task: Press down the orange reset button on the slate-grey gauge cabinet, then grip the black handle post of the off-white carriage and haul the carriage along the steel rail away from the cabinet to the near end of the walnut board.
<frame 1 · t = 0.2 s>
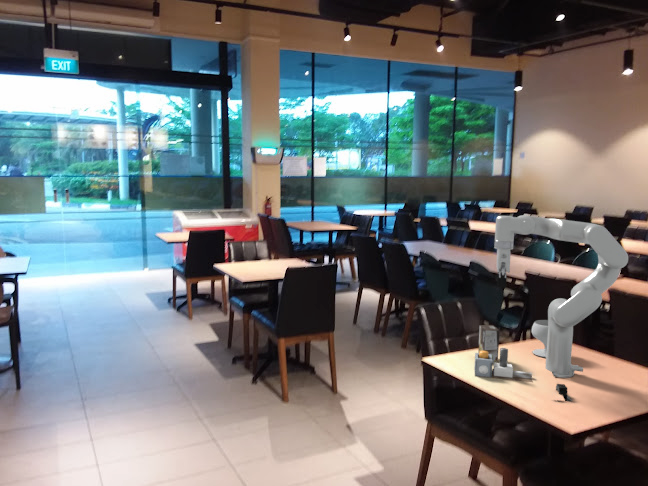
hand: (501, 285, 220), 36 cm above the table, tool pointing down, fingers open, 9 cm apart
carriage: (503, 361, 210), point 7 cm above the table, slide at 0.0 cm
rail board: (502, 378, 211), on the table
gauge cabinet: (482, 376, 213), resting on rail board
coffee box: (487, 363, 230), on the table
reset button: (483, 355, 212), point 9 cm above the table, slide at 0.0 cm
black slotted bracket: (561, 398, 195), on the table
chalice: (546, 354, 242), on the table
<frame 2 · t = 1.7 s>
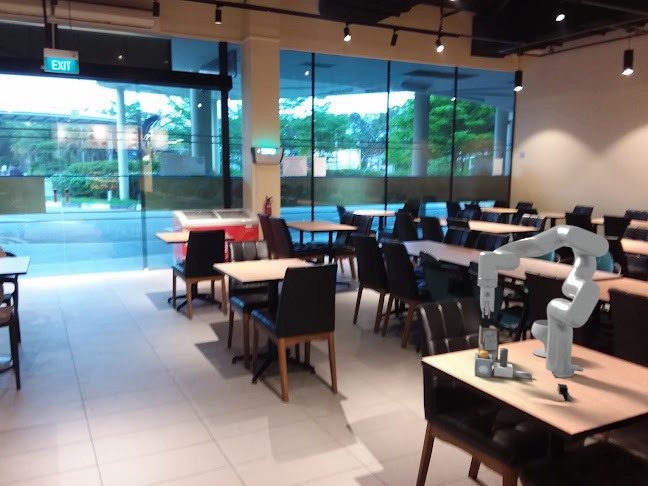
hand: (485, 326, 211), 21 cm above the table, tool pointing down, fingers closed
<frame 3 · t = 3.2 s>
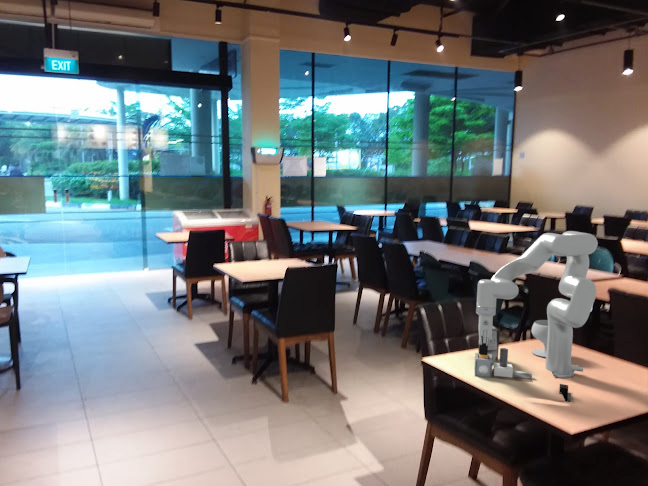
hand: (483, 353, 212), 10 cm above the table, tool pointing down, fingers closed
reset button: (483, 357, 212), point 8 cm above the table, slide at 0.9 cm, touching gripper
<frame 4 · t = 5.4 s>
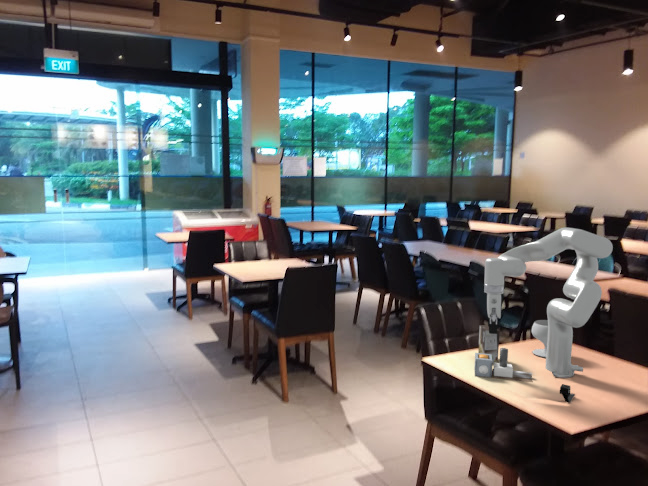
hand: (492, 330, 210), 20 cm above the table, tool pointing down, fingers open, 9 cm apart
reset button: (483, 359, 212), point 7 cm above the table, slide at 1.7 cm
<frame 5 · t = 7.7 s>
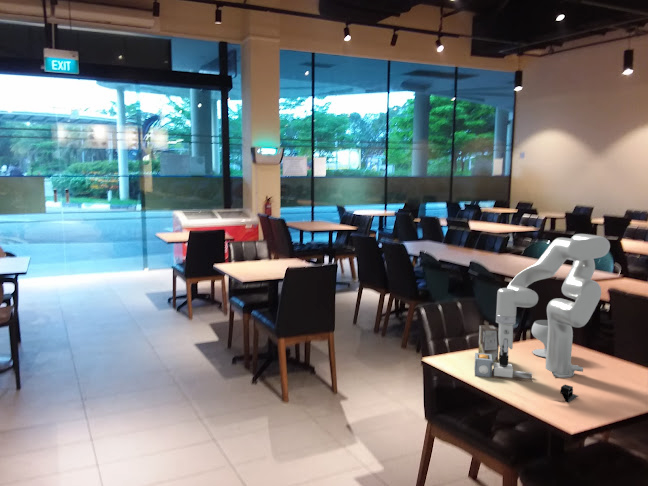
hand: (503, 362, 210), 7 cm above the table, tool pointing down, fingers closed on carriage, 3 cm apart
carriage: (503, 361, 210), point 7 cm above the table, slide at 0.0 cm, touching gripper
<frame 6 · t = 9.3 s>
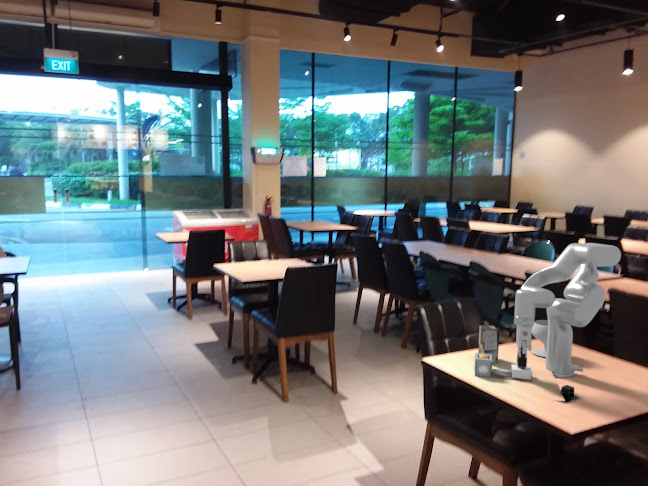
hand: (521, 364, 209), 7 cm above the table, tool pointing down, fingers closed on carriage, 3 cm apart
carriage: (521, 363, 209), point 7 cm above the table, slide at 7.0 cm, touching gripper
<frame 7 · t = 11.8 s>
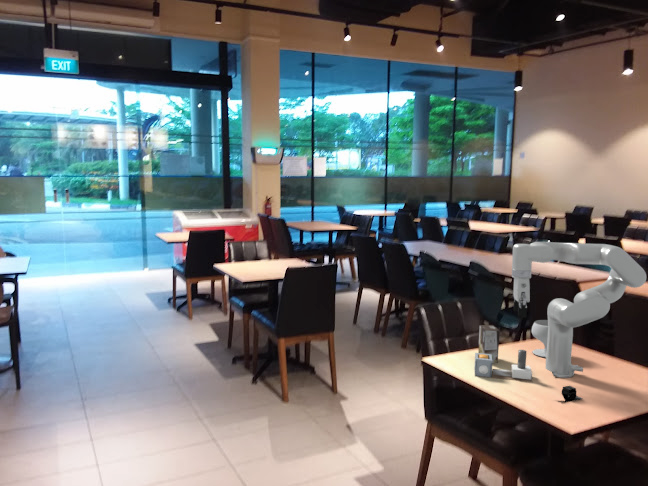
hand: (519, 314, 216), 25 cm above the table, tool pointing down, fingers open, 9 cm apart
carriage: (521, 363, 209), point 7 cm above the table, slide at 7.0 cm
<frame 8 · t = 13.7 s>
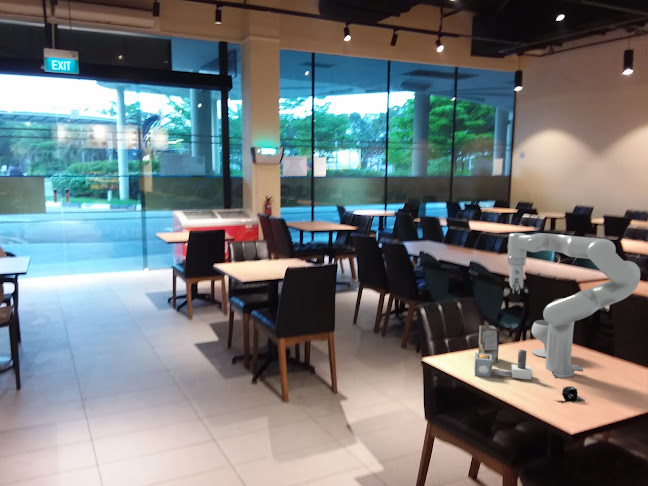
hand: (514, 299, 228), 28 cm above the table, tool pointing down, fingers open, 9 cm apart
at the end: reset button slide at 1.7 cm; carriage slide at 7.0 cm; the gripper is holding nothing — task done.
